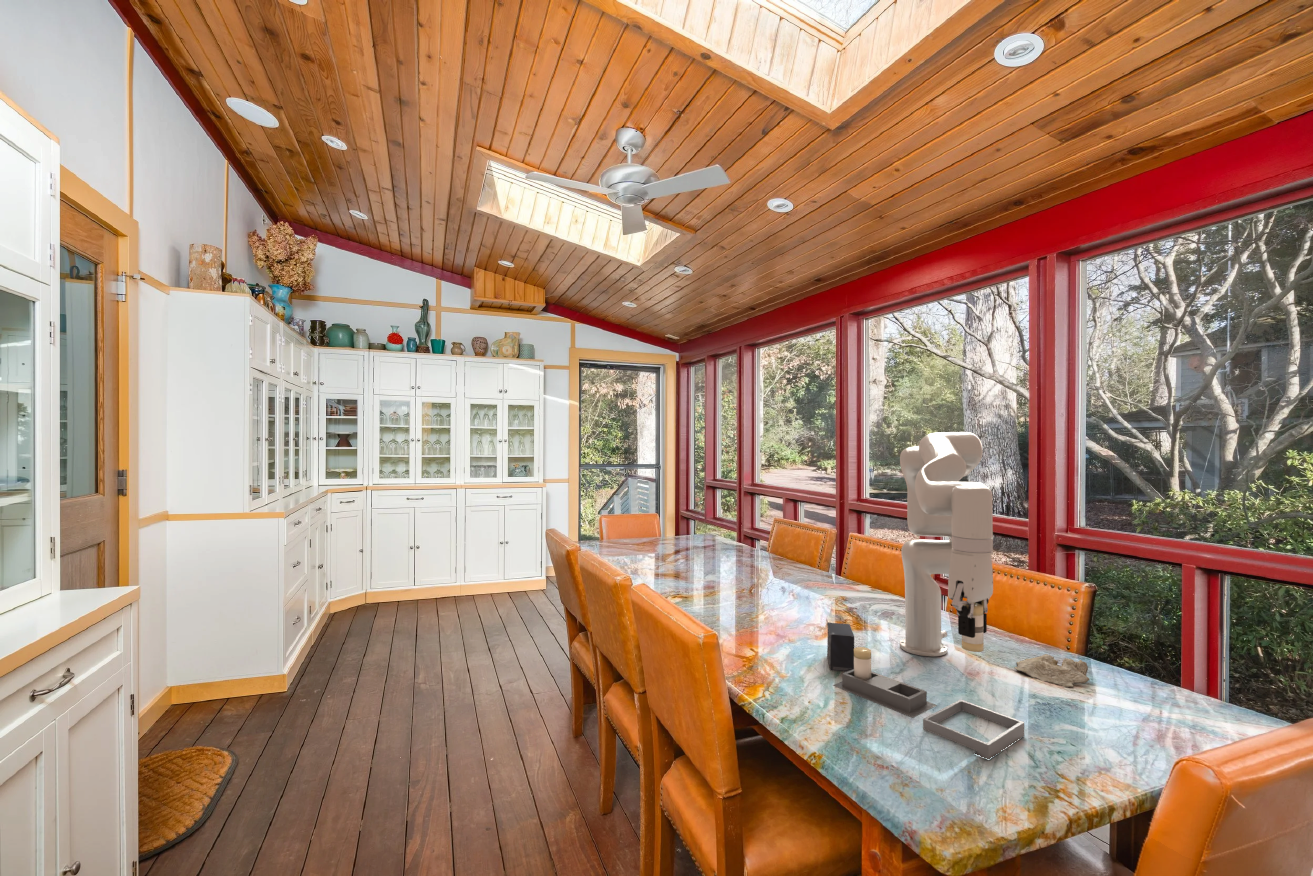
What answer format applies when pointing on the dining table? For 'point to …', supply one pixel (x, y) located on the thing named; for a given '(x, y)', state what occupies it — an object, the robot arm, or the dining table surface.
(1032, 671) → the coral
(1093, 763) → the dining table surface
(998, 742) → the tray
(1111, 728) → the dining table surface
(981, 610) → the fuse
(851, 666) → the small box
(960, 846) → the dining table surface
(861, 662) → the cylinder
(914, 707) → the fuse block
